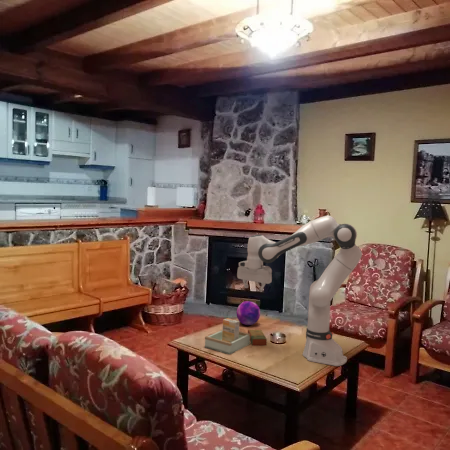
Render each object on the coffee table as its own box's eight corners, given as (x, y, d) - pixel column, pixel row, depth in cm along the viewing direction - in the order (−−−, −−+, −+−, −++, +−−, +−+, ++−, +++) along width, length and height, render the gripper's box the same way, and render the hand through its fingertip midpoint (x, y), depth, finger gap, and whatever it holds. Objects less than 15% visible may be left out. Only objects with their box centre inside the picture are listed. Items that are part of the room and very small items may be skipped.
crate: (249, 344, 245) (250, 334, 245) (229, 354, 228) (230, 343, 228) (225, 337, 254) (225, 327, 254) (204, 347, 237) (204, 336, 237)
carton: (261, 336, 260) (261, 329, 260) (266, 346, 244) (267, 338, 244) (247, 336, 259) (247, 329, 259) (252, 346, 243) (252, 338, 243)
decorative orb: (251, 330, 270) (252, 305, 269) (231, 324, 279) (232, 301, 278) (264, 324, 282) (265, 301, 281) (244, 319, 291) (245, 297, 290)
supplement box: (221, 342, 242) (222, 319, 241) (226, 340, 246) (227, 317, 245) (233, 346, 238) (235, 322, 237) (238, 344, 242) (239, 320, 240)
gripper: (274, 266, 238) (273, 291, 239) (242, 261, 249) (241, 285, 250) (269, 267, 232) (267, 293, 234) (236, 262, 244) (235, 287, 245)
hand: (253, 289), depth 242 cm, fingers open, 8 cm apart
